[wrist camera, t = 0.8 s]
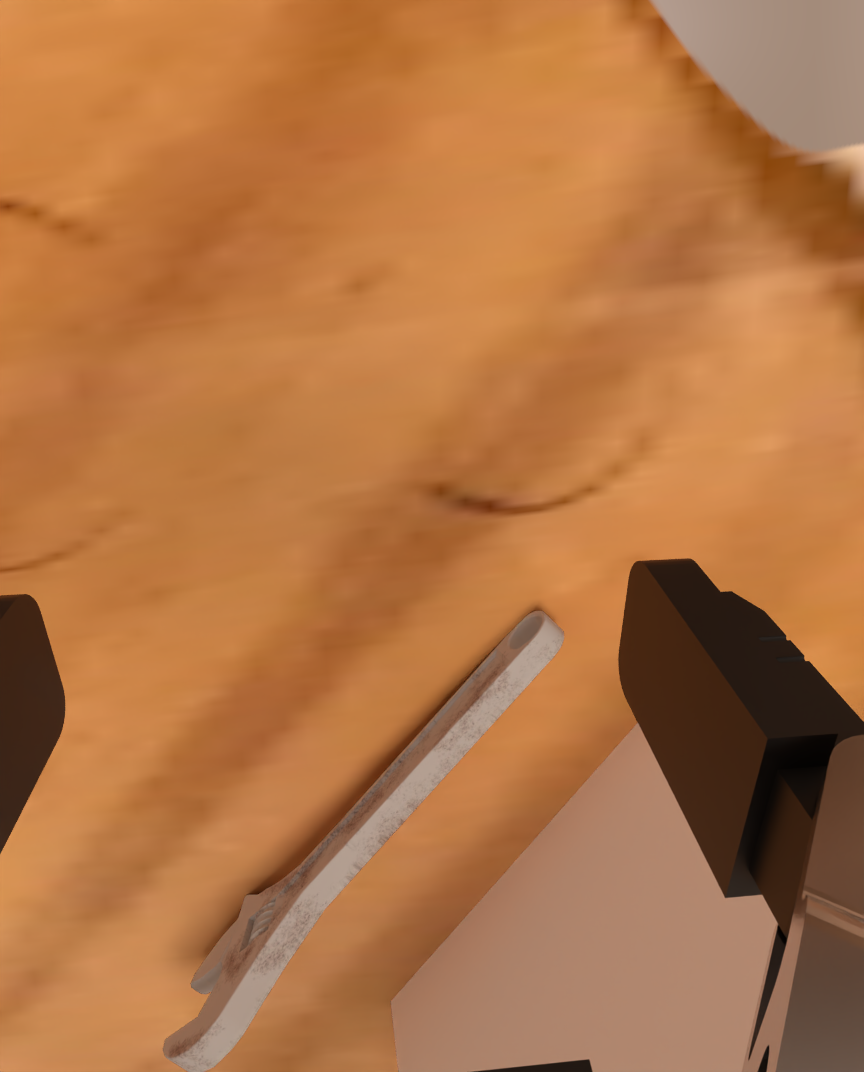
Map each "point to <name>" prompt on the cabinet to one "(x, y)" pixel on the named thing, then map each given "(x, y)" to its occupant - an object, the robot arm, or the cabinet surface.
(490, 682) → the wrench
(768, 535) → the cabinet surface
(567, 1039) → the cube
